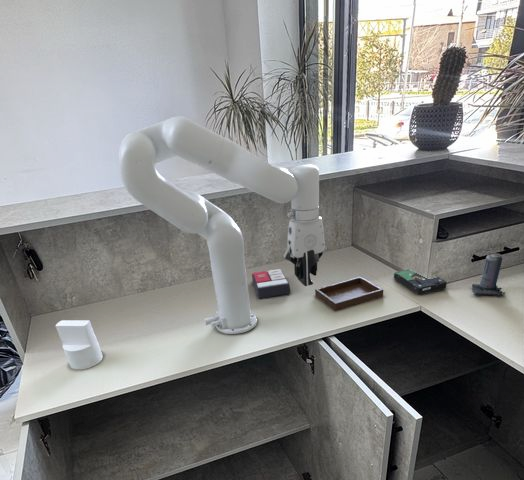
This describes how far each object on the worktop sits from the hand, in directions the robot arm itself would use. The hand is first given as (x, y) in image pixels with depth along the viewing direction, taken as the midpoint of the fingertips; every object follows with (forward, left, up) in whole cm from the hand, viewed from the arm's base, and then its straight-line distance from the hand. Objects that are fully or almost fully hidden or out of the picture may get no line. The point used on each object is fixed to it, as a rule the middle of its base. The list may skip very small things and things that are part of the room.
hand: (305, 275), depth 130 cm
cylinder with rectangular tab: (-66, +8, -12) cm, 68 cm away
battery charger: (0, 0, -2) cm, 3 cm away
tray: (+16, +1, -12) cm, 20 cm away
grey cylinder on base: (+52, -20, -12) cm, 57 cm away
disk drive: (+40, -4, -12) cm, 42 cm away
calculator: (-3, +22, -12) cm, 25 cm away
